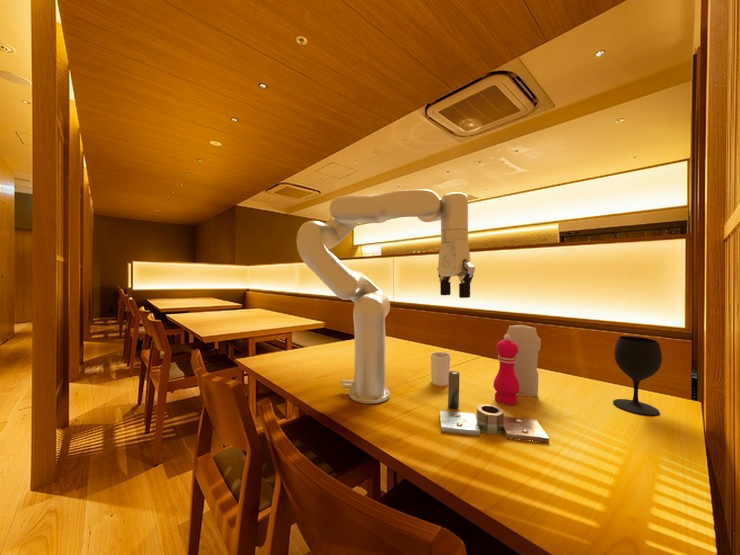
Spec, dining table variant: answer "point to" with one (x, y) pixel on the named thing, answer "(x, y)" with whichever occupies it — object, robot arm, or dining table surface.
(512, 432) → the hinge
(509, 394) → the pepper mill
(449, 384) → the hinge pin
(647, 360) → the wine glass
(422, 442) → the dining table surface
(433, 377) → the paper coffee cup
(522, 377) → the beige upright panel
